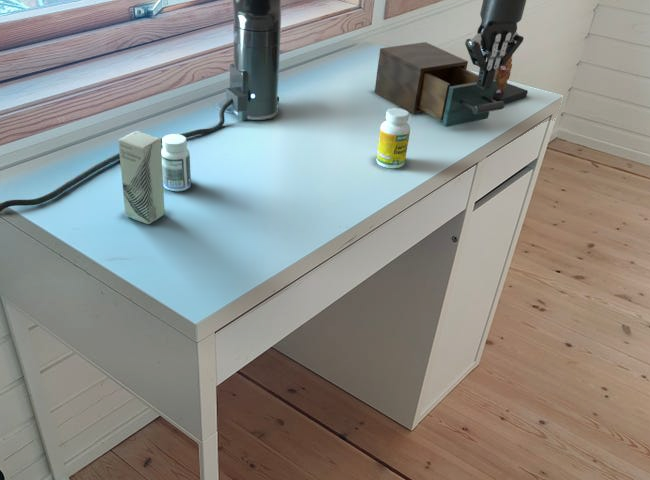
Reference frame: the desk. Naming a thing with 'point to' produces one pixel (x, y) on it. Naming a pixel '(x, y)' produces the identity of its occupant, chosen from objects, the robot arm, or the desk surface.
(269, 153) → the desk surface
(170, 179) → the pill bottle
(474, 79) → the drawer
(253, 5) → the robot arm
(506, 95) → the figurine
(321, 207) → the desk surface
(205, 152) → the desk surface
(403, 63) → the cabinet
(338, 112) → the desk surface
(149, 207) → the box
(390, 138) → the supplement bottle
